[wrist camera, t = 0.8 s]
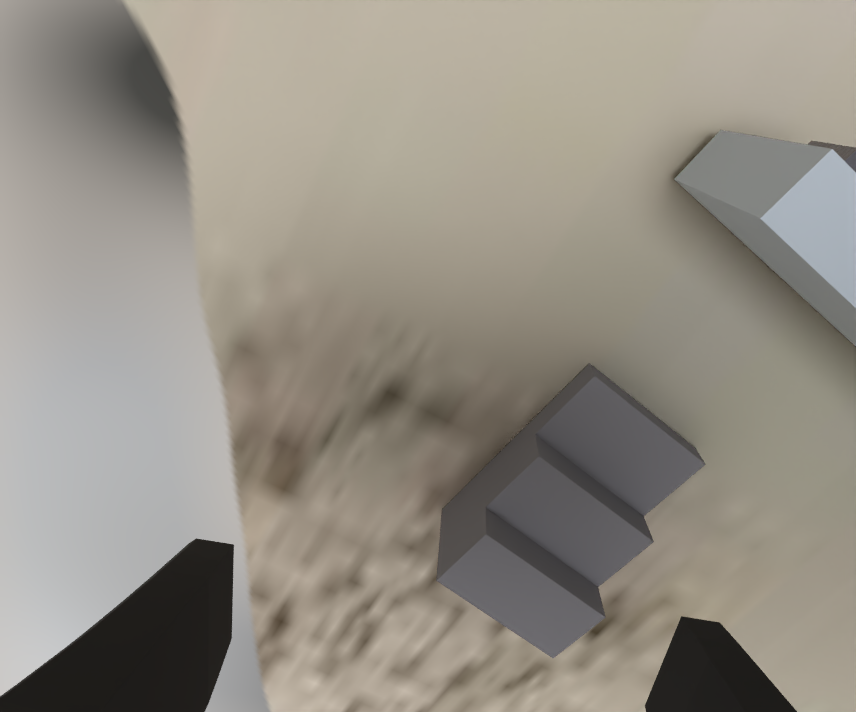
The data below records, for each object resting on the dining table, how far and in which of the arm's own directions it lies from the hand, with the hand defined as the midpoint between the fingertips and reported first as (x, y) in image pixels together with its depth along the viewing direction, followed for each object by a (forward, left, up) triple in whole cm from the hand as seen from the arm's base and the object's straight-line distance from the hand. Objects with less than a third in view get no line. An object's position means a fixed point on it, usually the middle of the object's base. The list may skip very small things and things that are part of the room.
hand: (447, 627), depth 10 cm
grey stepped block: (-5, +1, -10) cm, 11 cm away
